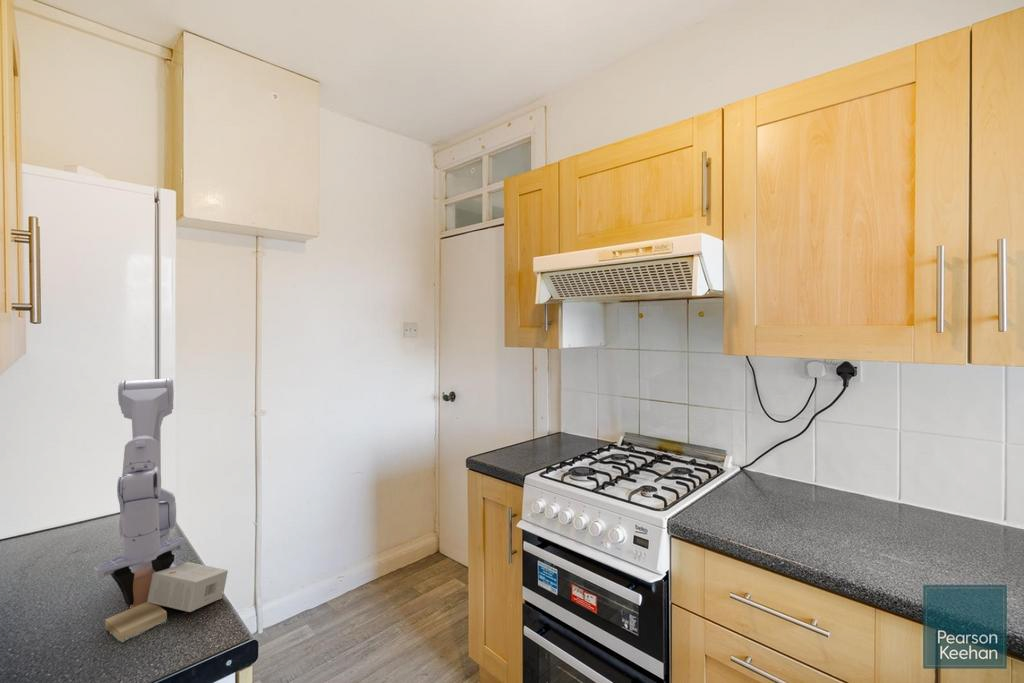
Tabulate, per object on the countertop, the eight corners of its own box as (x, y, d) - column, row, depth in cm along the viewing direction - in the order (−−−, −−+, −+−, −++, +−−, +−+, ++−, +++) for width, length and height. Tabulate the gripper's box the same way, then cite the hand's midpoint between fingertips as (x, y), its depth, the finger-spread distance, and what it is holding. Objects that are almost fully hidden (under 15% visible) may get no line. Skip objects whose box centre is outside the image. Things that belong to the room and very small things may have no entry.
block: (126, 603, 93) (125, 574, 93) (151, 594, 96) (150, 566, 96) (132, 611, 90) (131, 581, 90) (157, 601, 94) (156, 572, 93)
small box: (223, 598, 95) (182, 589, 97) (229, 569, 96) (188, 561, 98) (189, 613, 87) (145, 603, 90) (194, 582, 88) (151, 572, 91)
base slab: (105, 629, 85) (105, 619, 85) (150, 609, 91) (150, 599, 91) (121, 643, 81) (120, 632, 81) (167, 621, 87) (166, 611, 87)
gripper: (102, 551, 84) (105, 624, 84) (191, 521, 96) (193, 585, 97) (88, 541, 87) (91, 611, 88) (175, 514, 100) (177, 575, 100)
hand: (143, 597), depth 92 cm, fingers closed on block, 4 cm apart
